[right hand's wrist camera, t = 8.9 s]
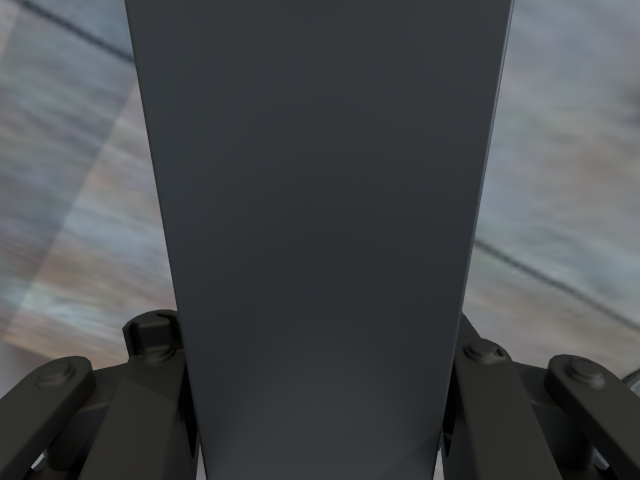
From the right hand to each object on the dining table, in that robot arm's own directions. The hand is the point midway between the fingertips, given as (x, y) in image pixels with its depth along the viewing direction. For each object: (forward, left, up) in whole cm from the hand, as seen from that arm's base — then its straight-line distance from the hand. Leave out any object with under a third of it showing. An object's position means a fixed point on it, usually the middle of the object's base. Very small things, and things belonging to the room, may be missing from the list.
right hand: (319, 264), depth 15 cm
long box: (+8, 0, 0) cm, 8 cm away
